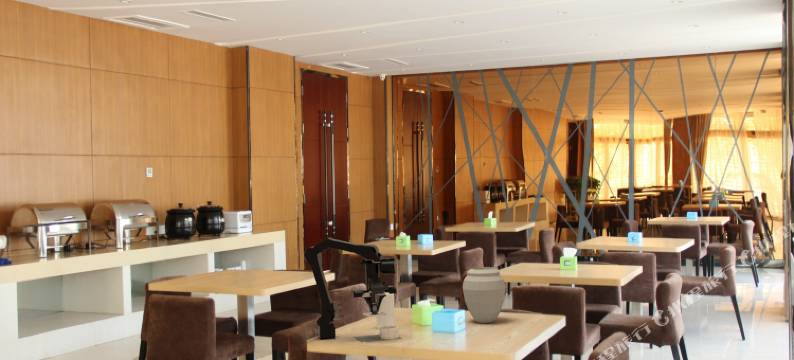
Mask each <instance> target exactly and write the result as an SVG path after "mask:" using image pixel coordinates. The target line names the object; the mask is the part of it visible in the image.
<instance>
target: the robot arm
mask: <svg viewBox="0 0 794 360" xmlns="http://www.w3.org/2000/svg"><path fill="white" fill-rule="evenodd" d="M330 248H331V249H334V250H338V251H339V250H340V251H344V252H349V253H352V254H356V255H358V256H360V257H362V260H361V262H360V263H359V265H360V266H361V265H364V270H365V271H364V272H365V277H364V280H365V284H366V285H365V289H361V288H354V289H351V290H350V294H349V295H350V297H352V298H362V299H363V300H364V301H365V303H366V305H367V308H368V309H369V312H371V313H372V296H371V295H375V303H377V312H379V309H380V305H381V302H382V299H383V298H384V297H385V296H386V295H385V292H388V293H389V294H394V295H395V294H397V288H396V286H395V285H389V281H387V280H384V281H382V280H381V277H380V273H382V275H396V274H398V264H397V260H396V257H386V258H385V257H384V256H383V254H381V252H380V249H379V247H378V246H377V245H376V244H371V243H369V244H368V243H367V244H366V243H363V244H361V243H359V244H358V243H354V242H349V241H345V240H340V239H335V238H333V237H327V238H324V240H322V241H321V242H318V244H316V245H314V246H309V247H307V248H305V251H304V253H303V256H304V259H305V261H306V263H307V264H308V266H309V267H310V270H312V274H313V278H314V281H315V284H316V287H317V291H318V295H319V299H320V315H321V316H320V317H319V318H318V319H316V324H317V331H318V332H317V333H318V336H317V338H318V340H319V341H320V340H321V341H324V340H325V341H326V340H333V339H334V340H335V339H337V338H336V336H337V335H336V327H335V324H334V322H335V319H336V318H338V316H339V311H340V307H339V306H338V301H337V300H335V301H334V300H333V298H332V296H331V293H330V291H329V286H328V284H327V280H326V276H325V272H324V268H323V256H322V254H324V253H325V252H326V251H328V250H329V249H330Z"/></svg>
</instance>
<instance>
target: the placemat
mask: <svg viewBox="0 0 794 360" xmlns="http://www.w3.org/2000/svg"><path fill="white" fill-rule="evenodd" d="M353 338H354V339H356V340H357V341H359V342H361V343H363V342H366V343H372V342H374V343H375V342H383V341H386V340H385V339H381V337H380V333H378V334H370V335H360V336H359V335H358V336H353ZM392 340H393V341H394V340H395V339H392ZM392 340H391V341H392ZM397 340H402V337H400V336H399V338H398V339H397Z"/></svg>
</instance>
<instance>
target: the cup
mask: <svg viewBox="0 0 794 360" xmlns="http://www.w3.org/2000/svg"><path fill="white" fill-rule="evenodd" d="M385 295H386V296H385V297H384V298H383V299H382V302H381V305H380V309H379V311H381V312H384V313H386V315H380V316H376V329H378V330H380V327H382V326H396V310H395V309H396V308H395V307H396V306H395V293H394V294H389V293H388V292H385Z"/></svg>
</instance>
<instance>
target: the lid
mask: <svg viewBox="0 0 794 360" xmlns="http://www.w3.org/2000/svg"><path fill="white" fill-rule="evenodd" d="M371 303H372V302H371ZM362 315H363V316H366V317H368V318H370V317H377V316H380V315H386V313H384V312H381V311H379V312H377V303H376V302H373V303H372V313H371V312H370V311H369V312H363V313H362Z"/></svg>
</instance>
